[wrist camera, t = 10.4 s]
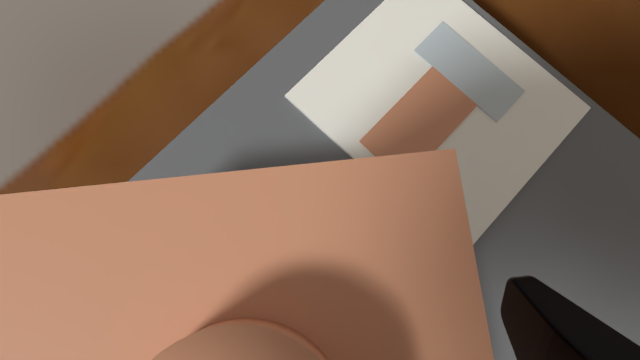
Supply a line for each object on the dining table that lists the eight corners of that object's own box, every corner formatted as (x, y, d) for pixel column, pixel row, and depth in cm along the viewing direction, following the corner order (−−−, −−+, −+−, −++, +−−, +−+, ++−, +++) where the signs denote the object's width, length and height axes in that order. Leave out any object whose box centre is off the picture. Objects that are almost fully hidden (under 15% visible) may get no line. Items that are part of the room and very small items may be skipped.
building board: (801, 321, 21) (875, 327, 19) (477, 817, 17) (511, 920, 14) (385, -30, 24) (395, -69, 22) (19, 312, 20) (-25, 317, 17)
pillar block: (375, 403, 14) (619, 802, 3) (206, 426, 13) (-141, 954, 3) (353, 236, 15) (483, 123, 4) (195, 254, 14) (-84, 180, 4)
